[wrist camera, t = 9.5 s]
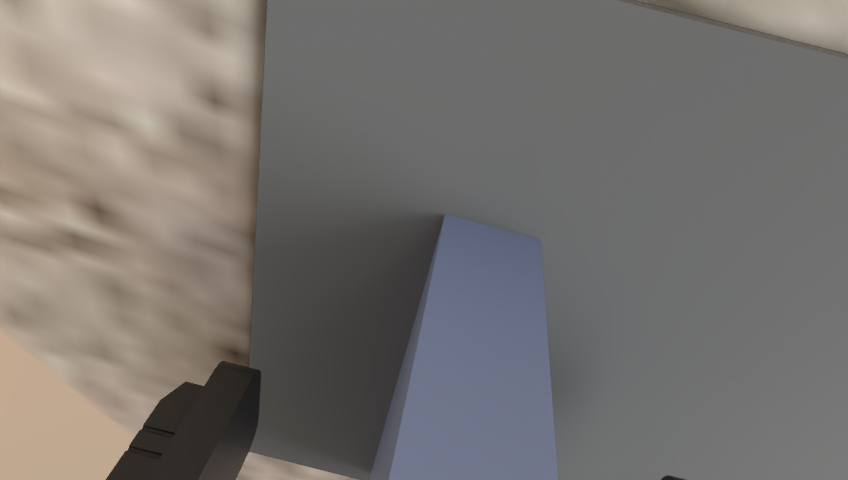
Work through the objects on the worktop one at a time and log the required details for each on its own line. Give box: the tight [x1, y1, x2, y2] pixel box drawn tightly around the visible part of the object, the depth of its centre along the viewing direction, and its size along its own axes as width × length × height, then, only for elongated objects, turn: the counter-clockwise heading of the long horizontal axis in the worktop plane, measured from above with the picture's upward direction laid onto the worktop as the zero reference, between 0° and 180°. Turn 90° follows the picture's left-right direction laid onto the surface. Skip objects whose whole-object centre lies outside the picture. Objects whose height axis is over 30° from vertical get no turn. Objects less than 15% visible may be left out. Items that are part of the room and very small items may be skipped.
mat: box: [249, 0, 848, 480], centre depth 13 cm, size 16×14×1 cm
